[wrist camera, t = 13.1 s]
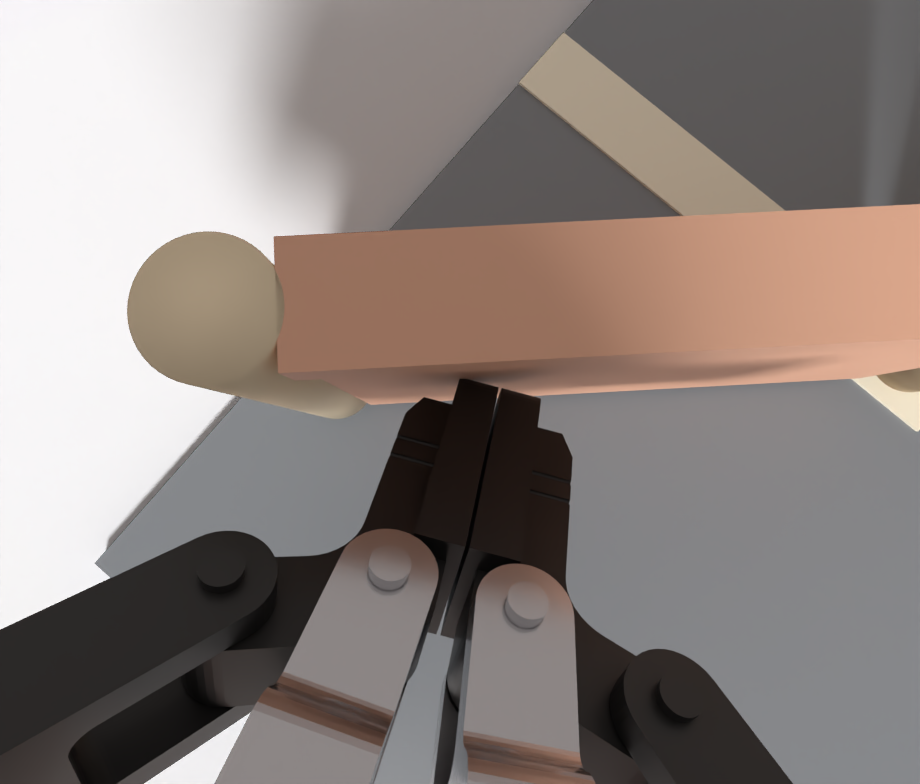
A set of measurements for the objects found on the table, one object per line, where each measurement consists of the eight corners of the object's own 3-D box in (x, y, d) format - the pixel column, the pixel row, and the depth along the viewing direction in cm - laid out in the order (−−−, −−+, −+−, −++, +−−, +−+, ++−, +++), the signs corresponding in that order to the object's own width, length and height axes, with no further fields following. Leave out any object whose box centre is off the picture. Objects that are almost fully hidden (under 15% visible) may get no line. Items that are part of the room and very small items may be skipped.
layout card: (1411, 261, 17) (1440, 255, 17) (763, 1151, 15) (774, 1175, 15) (789, -215, 18) (798, -234, 18) (103, 560, 16) (92, 564, 16)
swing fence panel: (859, 390, 16) (1309, 326, 8) (300, 420, 16) (127, 389, 7) (851, 318, 16) (1284, 177, 8) (298, 347, 16) (126, 235, 8)
